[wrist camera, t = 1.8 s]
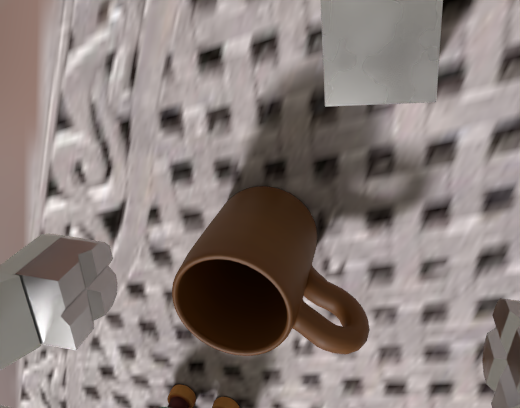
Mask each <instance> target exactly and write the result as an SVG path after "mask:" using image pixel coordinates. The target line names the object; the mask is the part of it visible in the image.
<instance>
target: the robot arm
mask: <svg viewBox="0 0 520 408" xmlns="http://www.w3.org/2000/svg"><path fill="white" fill-rule="evenodd" d="M112 259H113V257H112V253H111V249H110V246H109V245H108V244H106V243H105V242H100V241H94V240H88V239H82V238H76V237H70V236H63V235H56V234H41V235H40V236H39V237H37V238H36V239H35V240H33V241H32V242H31V243H29V244H28V245H27V246H25V247H24V248H23V249H21V250H20V251H19V252H17V253H16V254H14V255H13V256H12V257H10V258H9V259H8V260H7V261H5V262H4V263H3V264H1V265H0V370H2V369H3V368H5V367H7V366H8V365H10V364H12V363H13V362H15V361H17V360H18V359H20V358H22V357H24V356H25V355H27V354H29V353H30V352H32V351H34V350H35V349H37V348H39V347H40V346H41V344H42V345H48V346H54V347H60V348H66V349H72V350H77V349H78V347H79V346H80V345H81V344H82V343H83V341H84V340H85V339H86V338H87V337H88V335H89V334H90V333H91V332H92V330H93V329H94V320H96V319H98V318H100V317H102V316H104V315H106V313H107V312H108V311H109V310H110V308H111V307H112V305H113V303H114V300H115V297H116V295H117V279H116V274H115V273H114V272H113V271H112V270H111V268H110V267H109V264H110V262H111V261H112ZM493 318H494V321H495V324H496V328H494V329H493V330H491V331H490V332H488V333H487V336H486V340H485V343H484V348H483V372H484V376H485V381H486V384H487V385H488V386H489V387H490V388H491V389H492V390H493V391H494V392H495V394H494V397H493V400H492V403H491V405H492V408H520V301H517V300H509V299H502V298H500V299H499V301H498V302H497V304H496V306H495V309H494V313H493ZM0 408H12V407H8V406H4V405H0Z"/></svg>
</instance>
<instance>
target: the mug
mask: <svg viewBox="0 0 520 408" xmlns="http://www.w3.org/2000/svg"><path fill="white" fill-rule="evenodd" d="M316 244H317V231H316V225H315V222H314V219H313V217H312V215H311V213H310V212H309V210H308V209H307V208H306V206H305V205H304V204H303V203H302V202H301V201H300V200H298V199H297V198H296V197H295V196H293V195H291V194H290V193H288V192H286V191H283V190H281V189H278V188H273V187H266V186H258V187H252V188H248V189H245V190H243V191H241V192H239V193H237V194H236V195H234V196H233V197H232V198H231V199H229V200H228V201H227V202H226V204H225V205H224V206H223V207H222V209H221V210H220V211H219V213H218V214H217V215H216V217H215V218H214V219H213V221H212V222H211V223H210V224H209V226H208V227H207V228H206V230H205V231H204V232H203V234H202V235H201V237H200V238H199V239H198V241H197V242H196V243H195V245H194V246H193V247H192V249H191V250H190V252H189V253H188V255H187V256H186V258H185V260H184V262H183V264H182V265H181V267H180V269H179V271H178V272H177V274H176V276H175V279H174V282H173V288H172V297H173V303H174V306H175V309H176V312H177V314H178V316H179V318H180V319H181V321H182V322H183V324H184V325H185V326H186V328H187V329H188V330H189V331H190V332H191V333H192V334H193V335H194V336H196V337H197V338H198V339H199V340H201V341H202V342H204V343H205V344H207V345H209V346H211V347H213V348H215V349H217V350H220V351H222V352H226V353H229V354H234V355H243V356H250V355H259V354H262V353H266V352H268V351H271V350H273V349H274V348H276V347H277V346H279V345H280V344H281V343H282V342H283V341H284V340H285V339H286V338H287V337H288V335H289V333H290V332H291V329H292V328H293V329H295V330H296V331H298V332H299V333H300V334H302V335H303V336H304V337H305V338H307V339H308V340H309V341H311V342H312V343H313V344H315V345H316V346H317V347H319V348H321V349H323V350H326V351H329V352H332V353H339V354H349V353H352V352H355V351H358V350H359V349H360V348H361V347H362V346H363V345H364V344H365V342H366V341H367V338H368V333H369V324H368V319H367V316H366V314H365V311H364V310H363V308H362V307H361V305H360V304H359V303H358V301H357V300H356V299H355V298H354V297H353V296H351V295H350V294H349V293H348V292H346V291H345V290H343V289H342V288H340V287H338V286H336V285H334V284H332V283H330V282H328V281H327V280H326V279H325V278H324V277H323V276H321V275H320V274H319V273H318V272H317V271H316V270H315V269H314V268H313V266H312V262H313V258H314V254H315V250H316ZM303 296H305V297H306V298H307V299H308V300H310V301H311V302H313V303H314V304H316V305H318V306H320V307H322V308H324V309H326V310H328V311H330V312H332V313H333V314H334V315H335V316H337V318H338V319H339V320H340V322H341V324H342V326H343V327H341V326H337V325H335V324H333V323H332V322H330V321H329V320H327V319H326V318H325V317H323V316H322V315H321V314H319V313H318V312H317V311H315V310H314V309H313V308H311V307H310V306H308V305H307V304H306V303H305V302H304V301H303Z"/></svg>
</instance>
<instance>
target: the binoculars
mask: <svg viewBox="0 0 520 408" xmlns="http://www.w3.org/2000/svg"><path fill="white" fill-rule="evenodd" d="M195 402H196V396H195V394H194V392H193V391H192V390H191V389H190V388H189V387H187V386H185V385H175V386H174V387H173V388H172V390H171V392H170V394H169V396H168V403H169V405H168V407H160V408H193V407H194V404H195ZM212 408H239V406H238V404H237V403H236V402H235V401H234V400H233V399H231V398H228V397H219V398H217V399H216V400H215V401H214V404H213V406H212Z"/></svg>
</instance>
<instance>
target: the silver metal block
mask: <svg viewBox="0 0 520 408" xmlns="http://www.w3.org/2000/svg"><path fill="white" fill-rule="evenodd" d="M442 6H443V0H321V20H322V44H323V67H324V91H325V107H329V106H353V105H377V104H401V103H425V102H436V97H437V82H438V67H439V51H440V36H441V21H442Z"/></svg>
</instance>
